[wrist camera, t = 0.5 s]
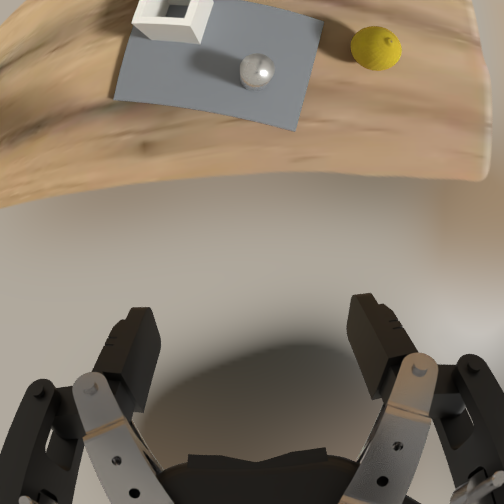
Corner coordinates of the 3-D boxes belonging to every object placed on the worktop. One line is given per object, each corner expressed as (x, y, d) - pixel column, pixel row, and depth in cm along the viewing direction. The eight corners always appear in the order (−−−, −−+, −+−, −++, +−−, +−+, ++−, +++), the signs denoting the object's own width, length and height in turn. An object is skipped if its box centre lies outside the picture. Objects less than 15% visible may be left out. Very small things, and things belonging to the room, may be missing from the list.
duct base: (148, -3, 23) (145, -7, 22) (321, 25, 26) (324, 21, 25) (118, 100, 29) (113, 99, 28) (292, 131, 32) (295, 131, 31)
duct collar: (165, -1, 23) (149, -24, 16) (213, 2, 24) (207, -23, 17) (151, 40, 25) (131, 23, 19) (200, 44, 26) (190, 26, 20)
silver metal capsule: (243, 62, 27) (244, 50, 22) (271, 69, 28) (278, 58, 22) (237, 88, 29) (236, 80, 23) (265, 94, 29) (270, 87, 24)
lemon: (379, 79, 29) (411, 72, 22) (339, 67, 29) (365, 55, 22) (382, 43, 27) (413, 30, 20) (343, 30, 26) (368, 11, 19)
